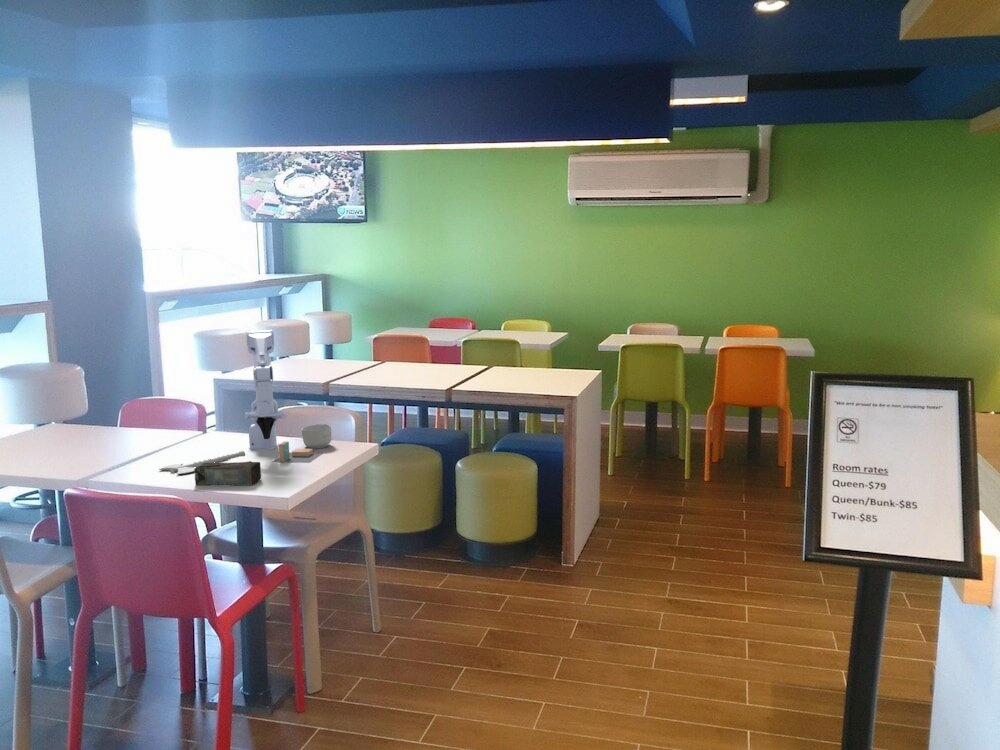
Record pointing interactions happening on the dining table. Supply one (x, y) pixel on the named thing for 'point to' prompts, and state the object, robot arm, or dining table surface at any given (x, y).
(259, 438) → the robot arm
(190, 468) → the axe
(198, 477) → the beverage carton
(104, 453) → the dining table surface
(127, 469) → the dining table surface
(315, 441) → the teacup
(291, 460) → the mat
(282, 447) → the tile
